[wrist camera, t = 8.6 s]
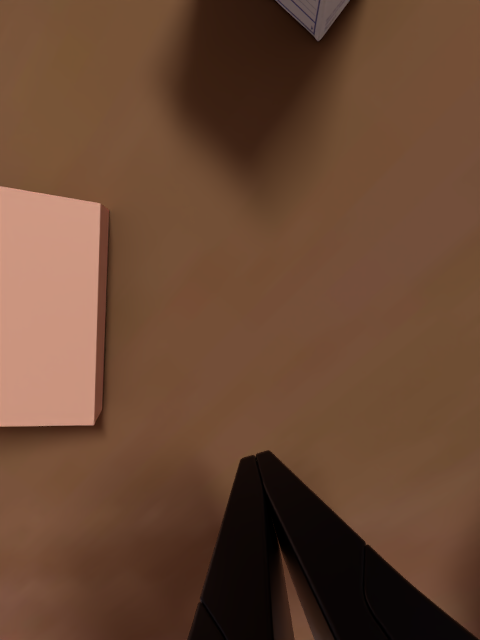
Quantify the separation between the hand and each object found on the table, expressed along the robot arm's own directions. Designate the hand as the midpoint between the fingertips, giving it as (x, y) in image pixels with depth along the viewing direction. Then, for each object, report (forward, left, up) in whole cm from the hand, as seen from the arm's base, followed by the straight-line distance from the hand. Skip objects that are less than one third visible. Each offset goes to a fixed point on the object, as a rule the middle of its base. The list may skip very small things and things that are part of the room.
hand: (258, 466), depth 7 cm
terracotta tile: (+6, +9, -9) cm, 14 cm away
